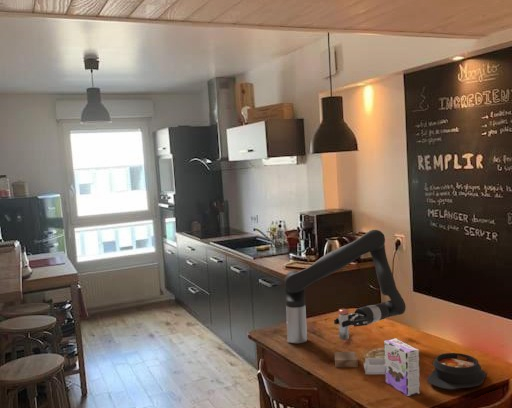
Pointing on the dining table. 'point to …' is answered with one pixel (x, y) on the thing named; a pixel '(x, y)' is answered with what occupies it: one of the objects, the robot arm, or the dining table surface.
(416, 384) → the candy box
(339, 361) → the mount
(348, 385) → the dining table surface
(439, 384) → the casserole
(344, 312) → the canister
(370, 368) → the socket
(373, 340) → the dining table surface
